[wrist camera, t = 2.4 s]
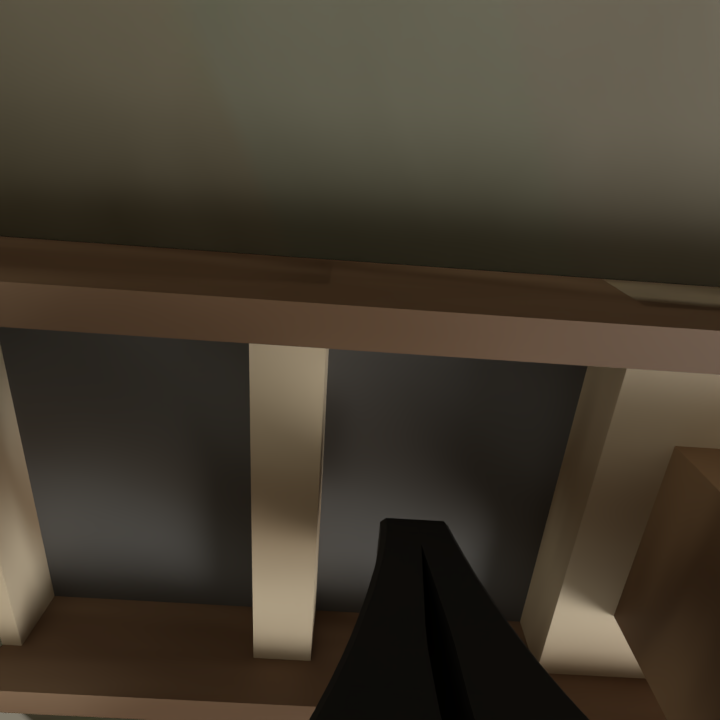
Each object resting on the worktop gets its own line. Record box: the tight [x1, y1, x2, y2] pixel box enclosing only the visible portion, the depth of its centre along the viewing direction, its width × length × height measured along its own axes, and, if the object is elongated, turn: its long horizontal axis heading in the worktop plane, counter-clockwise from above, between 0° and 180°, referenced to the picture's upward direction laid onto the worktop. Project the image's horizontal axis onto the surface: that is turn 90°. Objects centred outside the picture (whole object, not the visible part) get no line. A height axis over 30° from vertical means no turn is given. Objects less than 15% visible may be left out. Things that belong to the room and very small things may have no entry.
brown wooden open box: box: [0, 236, 720, 720], centre depth 12 cm, size 11×30×4 cm, turn 86°
